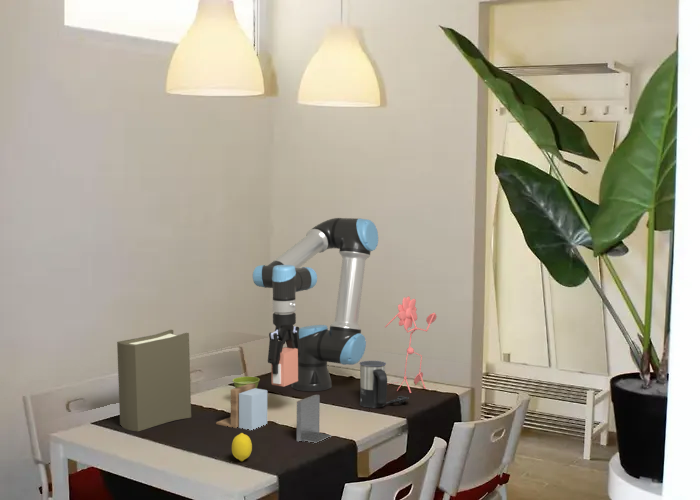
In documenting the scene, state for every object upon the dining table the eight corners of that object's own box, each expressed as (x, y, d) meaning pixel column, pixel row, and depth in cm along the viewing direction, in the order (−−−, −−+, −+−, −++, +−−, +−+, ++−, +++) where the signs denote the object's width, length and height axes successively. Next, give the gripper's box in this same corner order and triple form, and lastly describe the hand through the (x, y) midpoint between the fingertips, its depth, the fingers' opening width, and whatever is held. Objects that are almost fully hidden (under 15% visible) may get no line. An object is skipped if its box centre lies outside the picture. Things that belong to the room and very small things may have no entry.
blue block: (254, 421, 265) (254, 388, 264) (267, 424, 262) (267, 390, 261) (239, 427, 258) (239, 393, 257) (251, 430, 255) (251, 395, 255)
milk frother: (353, 404, 287) (354, 362, 286) (386, 397, 298) (387, 356, 296) (381, 413, 277) (381, 369, 275) (414, 405, 287) (415, 363, 286)
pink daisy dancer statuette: (440, 385, 315) (442, 295, 313) (398, 398, 296) (400, 301, 293) (408, 378, 326) (410, 291, 323) (366, 390, 306) (367, 297, 303)
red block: (285, 379, 277) (285, 346, 276) (298, 381, 274) (297, 348, 273) (271, 384, 270) (271, 351, 269) (283, 386, 267) (283, 353, 266)
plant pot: (242, 409, 279) (242, 384, 278) (227, 403, 286) (227, 379, 285) (265, 404, 285) (265, 380, 284) (249, 399, 292) (249, 375, 292)
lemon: (228, 463, 225) (228, 434, 225) (237, 457, 231) (237, 429, 230) (245, 465, 223) (245, 437, 223) (255, 459, 229) (255, 431, 228)
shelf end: (236, 416, 270) (236, 380, 269) (255, 420, 266) (255, 384, 265) (216, 424, 262) (216, 387, 261) (235, 428, 257) (235, 390, 256)
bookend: (315, 432, 254) (315, 394, 253) (332, 436, 250) (333, 397, 250) (296, 441, 245) (296, 401, 244) (314, 444, 242) (315, 404, 241)
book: (135, 434, 252) (132, 344, 250) (117, 428, 258) (114, 340, 256) (191, 417, 269) (188, 333, 266) (173, 412, 275) (170, 329, 272)
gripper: (274, 318, 259) (275, 389, 261) (311, 308, 276) (311, 374, 279) (255, 316, 263) (256, 385, 265) (293, 306, 280) (293, 372, 283)
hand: (284, 380), depth 272 cm, fingers closed on red block, 8 cm apart
